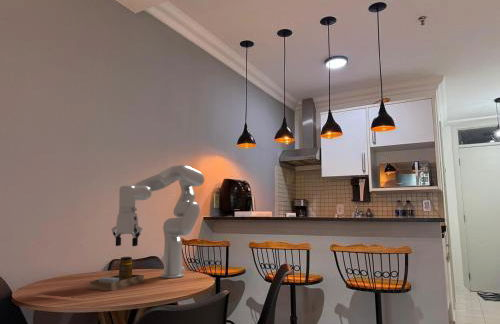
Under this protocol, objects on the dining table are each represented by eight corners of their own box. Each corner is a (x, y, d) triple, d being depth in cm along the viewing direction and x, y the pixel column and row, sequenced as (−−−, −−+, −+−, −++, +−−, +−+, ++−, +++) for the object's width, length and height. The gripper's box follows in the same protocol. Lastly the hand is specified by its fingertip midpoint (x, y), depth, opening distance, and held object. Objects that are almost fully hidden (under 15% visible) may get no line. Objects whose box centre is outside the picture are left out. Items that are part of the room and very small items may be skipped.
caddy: (121, 282, 180) (121, 273, 181) (143, 283, 176) (143, 275, 177) (88, 290, 160) (89, 281, 160) (112, 292, 155) (113, 283, 156)
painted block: (104, 285, 165) (104, 277, 166) (118, 287, 163) (119, 277, 163) (98, 287, 162) (98, 278, 162) (112, 288, 159) (113, 279, 160)
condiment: (135, 282, 175) (136, 256, 176) (123, 285, 167) (124, 258, 169) (123, 281, 178) (125, 256, 179) (111, 284, 170) (112, 258, 172)
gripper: (146, 210, 178) (146, 245, 176) (117, 210, 184) (117, 244, 181) (137, 210, 171) (136, 247, 169) (107, 211, 176) (106, 246, 174)
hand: (126, 245), depth 175 cm, fingers open, 9 cm apart
